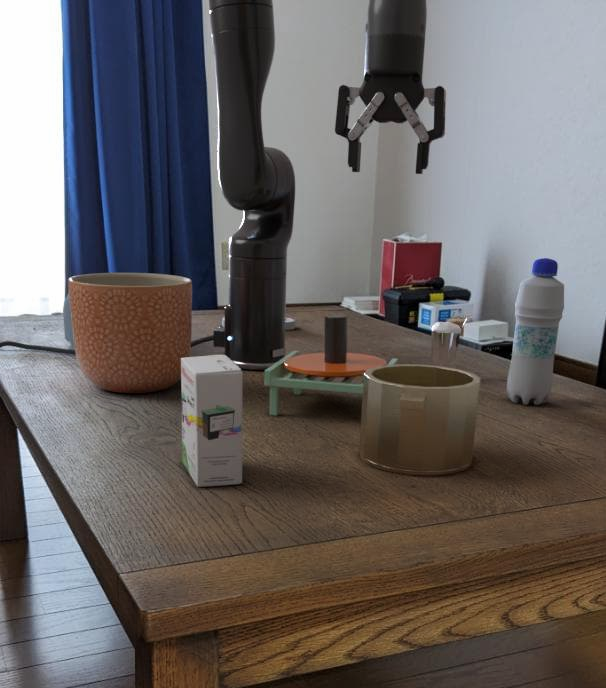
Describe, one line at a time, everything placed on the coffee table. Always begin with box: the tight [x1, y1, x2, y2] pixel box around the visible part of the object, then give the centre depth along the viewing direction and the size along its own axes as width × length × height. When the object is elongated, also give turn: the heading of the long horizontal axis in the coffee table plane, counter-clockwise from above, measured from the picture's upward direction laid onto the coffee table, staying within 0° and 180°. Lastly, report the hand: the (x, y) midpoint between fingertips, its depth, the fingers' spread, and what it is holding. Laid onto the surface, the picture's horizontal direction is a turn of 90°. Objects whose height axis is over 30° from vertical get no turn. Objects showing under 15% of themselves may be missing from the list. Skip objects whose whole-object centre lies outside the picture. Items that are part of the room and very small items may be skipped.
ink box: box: [180, 354, 244, 488], centre depth 92 cm, size 8×5×12 cm, turn 17°
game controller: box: [221, 316, 296, 331], centre depth 182 cm, size 15×13×2 cm
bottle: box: [506, 257, 565, 406], centre depth 127 cm, size 7×7×20 cm
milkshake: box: [430, 317, 469, 369], centre depth 140 cm, size 5×5×10 cm
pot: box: [359, 363, 482, 477], centre depth 100 cm, size 13×18×10 cm
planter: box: [67, 272, 193, 394], centre depth 128 cm, size 17×17×15 cm
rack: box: [263, 350, 399, 417], centre depth 122 cm, size 15×15×6 cm
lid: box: [284, 314, 388, 379], centre depth 120 cm, size 14×14×7 cm
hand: (387, 173), depth 120 cm, fingers open, 8 cm apart
